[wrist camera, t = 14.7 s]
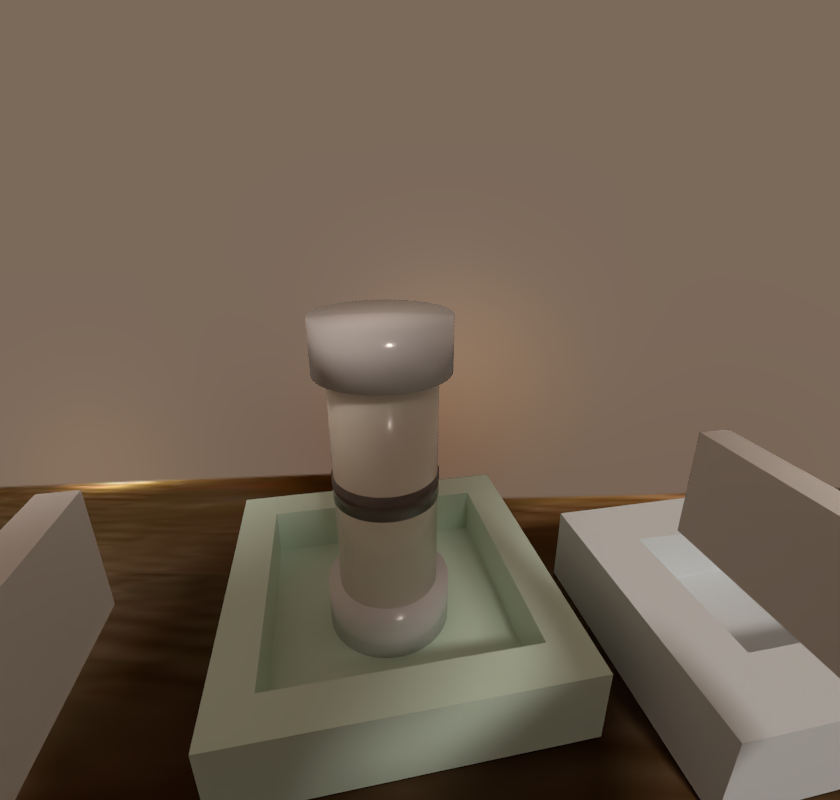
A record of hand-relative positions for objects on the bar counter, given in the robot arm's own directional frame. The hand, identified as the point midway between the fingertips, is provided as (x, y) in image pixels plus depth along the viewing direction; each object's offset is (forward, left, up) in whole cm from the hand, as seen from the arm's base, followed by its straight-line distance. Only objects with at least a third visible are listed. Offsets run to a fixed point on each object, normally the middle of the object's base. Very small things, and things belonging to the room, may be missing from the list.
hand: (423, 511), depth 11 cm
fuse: (0, -8, -10) cm, 13 cm away
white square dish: (-14, -4, -11) cm, 18 cm away
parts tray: (0, -8, -11) cm, 14 cm away
